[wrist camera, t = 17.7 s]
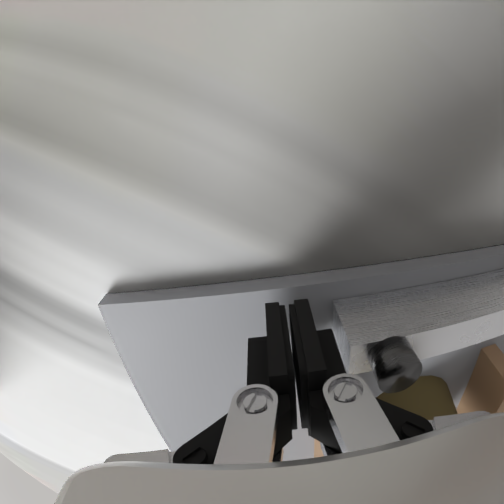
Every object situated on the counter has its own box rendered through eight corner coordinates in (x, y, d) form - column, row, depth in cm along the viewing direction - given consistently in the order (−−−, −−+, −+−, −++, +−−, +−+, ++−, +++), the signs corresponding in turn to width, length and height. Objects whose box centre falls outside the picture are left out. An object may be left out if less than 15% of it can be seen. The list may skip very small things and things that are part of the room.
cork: (413, 362, 14) (494, 545, 4) (462, 389, 15) (529, 522, 5) (337, 428, 16) (368, 595, 6) (397, 444, 17) (434, 573, 7)
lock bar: (332, 297, 13) (359, 368, 9) (511, 265, 12) (562, 306, 8) (332, 328, 13) (355, 401, 9) (505, 292, 13) (550, 336, 9)
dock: (106, 293, 14) (63, 353, 10) (541, 237, 12) (591, 270, 8) (189, 467, 20) (182, 515, 16) (478, 416, 19) (498, 454, 14)
